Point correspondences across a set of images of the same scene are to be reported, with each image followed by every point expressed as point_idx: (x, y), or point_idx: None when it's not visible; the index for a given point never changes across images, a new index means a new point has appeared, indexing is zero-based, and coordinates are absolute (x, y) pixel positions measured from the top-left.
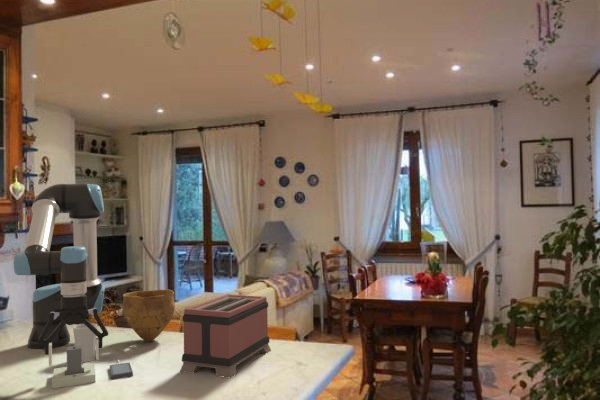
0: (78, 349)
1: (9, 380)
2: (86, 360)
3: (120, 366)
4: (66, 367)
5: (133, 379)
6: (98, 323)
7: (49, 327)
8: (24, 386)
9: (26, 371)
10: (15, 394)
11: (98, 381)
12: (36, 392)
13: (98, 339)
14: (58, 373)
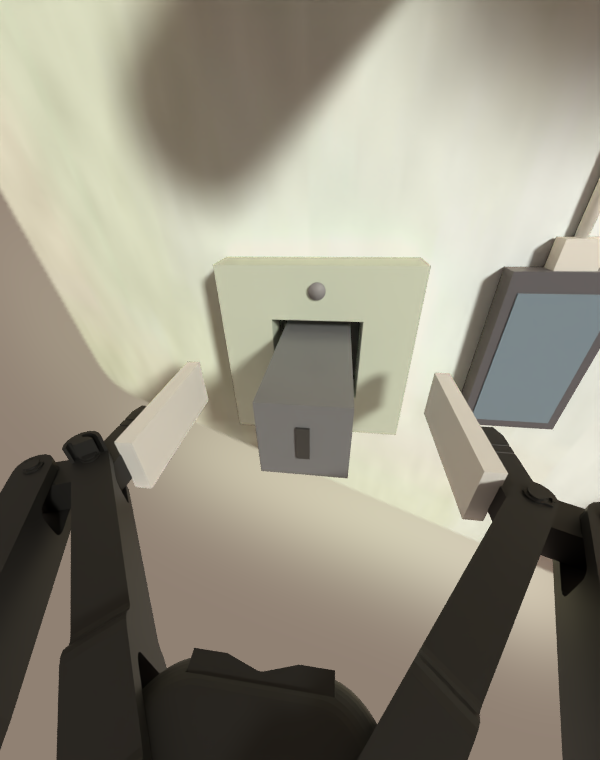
0: (329, 473)
1: (33, 222)
2: None
3: (550, 331)
4: (275, 274)
5: (524, 449)
6: (570, 716)
7: (29, 645)
8: (141, 338)
9: (32, 58)
10: (144, 400)
11: (403, 411)
12: (204, 413)
13: (481, 519)
14: (248, 355)
